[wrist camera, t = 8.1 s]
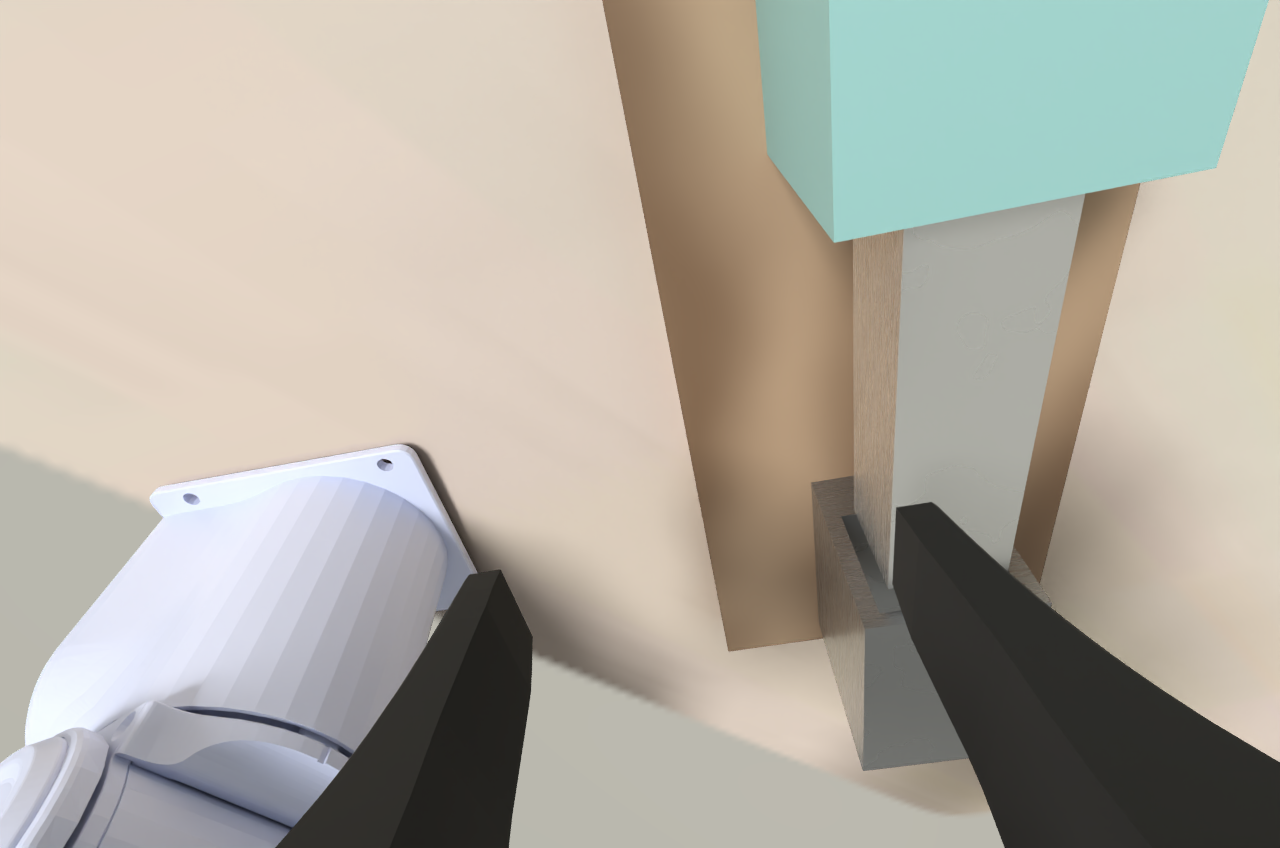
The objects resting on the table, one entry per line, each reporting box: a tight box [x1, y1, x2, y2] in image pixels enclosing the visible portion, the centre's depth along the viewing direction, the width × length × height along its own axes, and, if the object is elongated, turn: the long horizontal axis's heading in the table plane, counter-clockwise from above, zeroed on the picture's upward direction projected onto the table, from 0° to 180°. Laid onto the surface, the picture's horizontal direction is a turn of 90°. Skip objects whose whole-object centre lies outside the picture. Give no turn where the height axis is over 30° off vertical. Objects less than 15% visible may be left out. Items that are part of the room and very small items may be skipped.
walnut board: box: [602, 0, 1140, 651], centre depth 20 cm, size 12×24×2 cm, turn 11°
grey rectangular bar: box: [853, 194, 1085, 589], centre depth 14 cm, size 3×13×3 cm, turn 11°
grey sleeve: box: [811, 476, 1052, 771], centre depth 21 cm, size 5×8×6 cm, turn 11°
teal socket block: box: [755, 0, 1269, 243], centre depth 11 cm, size 6×4×6 cm
